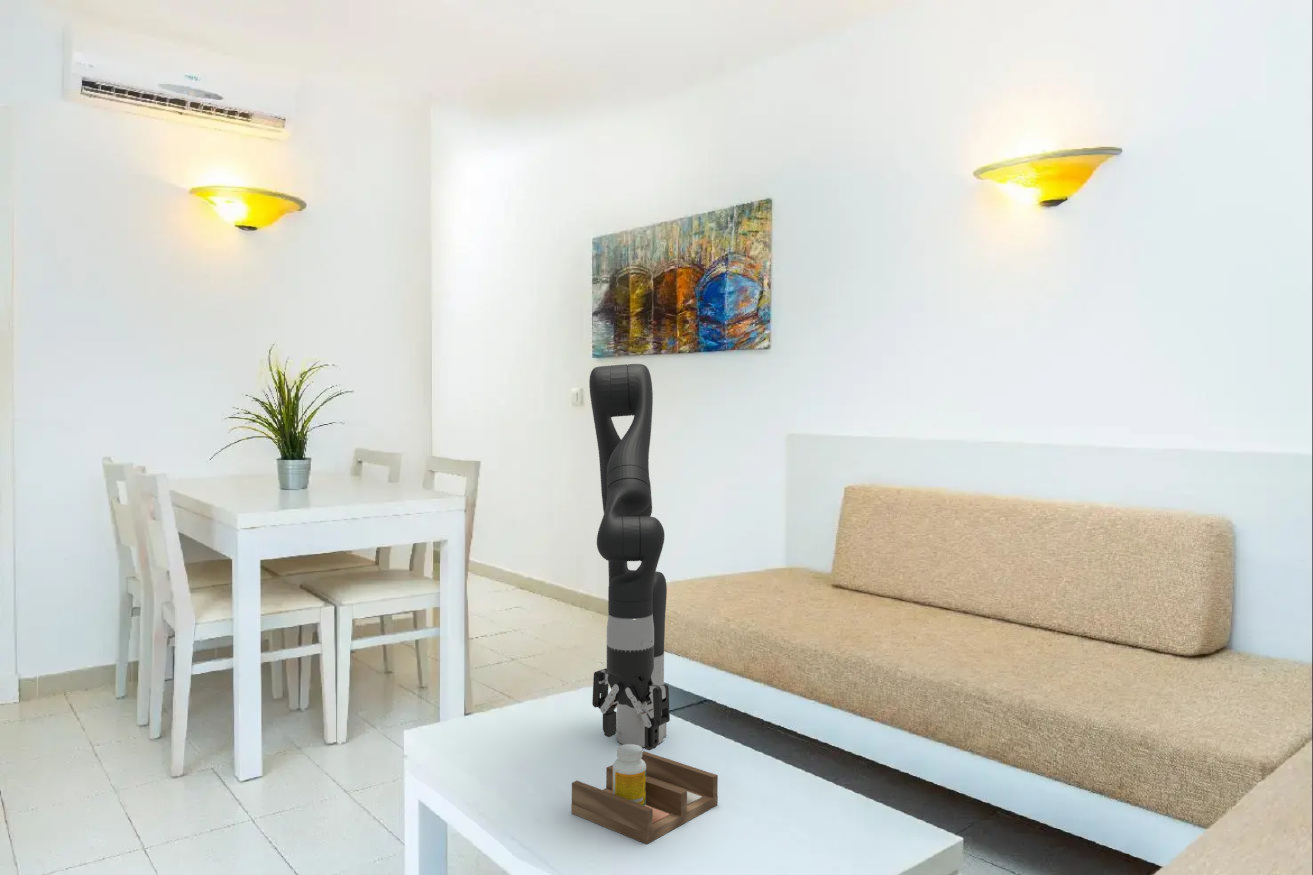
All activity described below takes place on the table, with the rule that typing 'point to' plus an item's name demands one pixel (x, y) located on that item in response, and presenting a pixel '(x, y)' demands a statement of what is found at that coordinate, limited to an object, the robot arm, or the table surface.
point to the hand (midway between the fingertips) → (630, 741)
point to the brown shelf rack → (649, 800)
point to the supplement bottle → (629, 774)
